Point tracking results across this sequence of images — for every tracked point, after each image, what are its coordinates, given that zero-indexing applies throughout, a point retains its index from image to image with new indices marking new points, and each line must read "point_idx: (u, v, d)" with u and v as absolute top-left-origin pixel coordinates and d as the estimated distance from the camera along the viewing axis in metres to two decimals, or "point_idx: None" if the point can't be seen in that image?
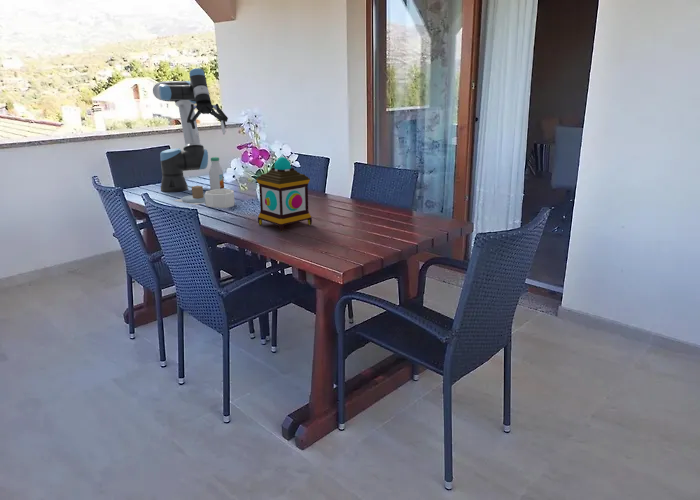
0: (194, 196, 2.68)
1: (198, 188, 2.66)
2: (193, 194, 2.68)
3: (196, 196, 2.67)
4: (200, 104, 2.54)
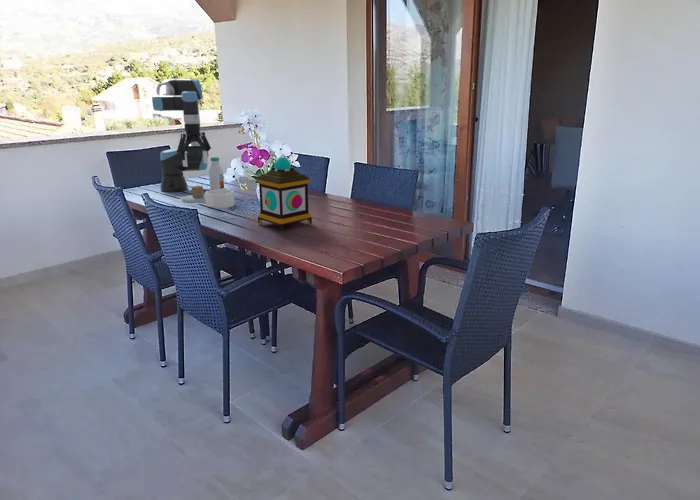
0: (194, 196, 2.68)
1: (198, 188, 2.66)
2: (193, 194, 2.68)
3: (196, 196, 2.67)
4: (191, 133, 2.57)
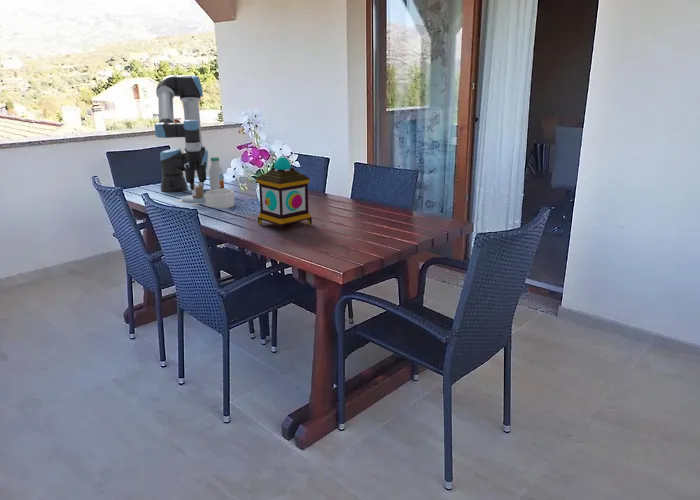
0: (194, 196, 2.68)
1: (198, 188, 2.66)
2: None
3: (196, 196, 2.67)
4: (192, 160, 2.60)
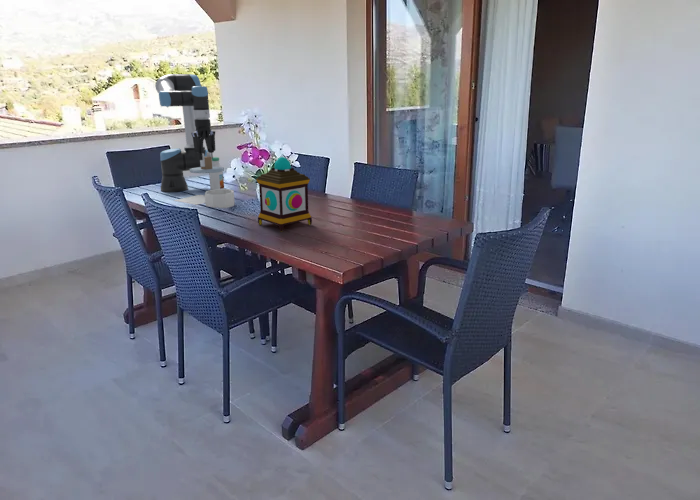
0: (203, 167, 2.56)
1: (207, 158, 2.55)
2: None
3: (205, 167, 2.56)
4: (200, 128, 2.49)
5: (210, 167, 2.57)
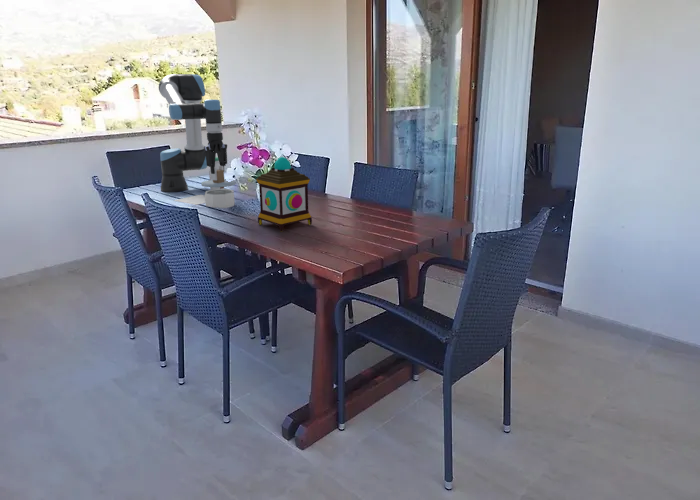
0: (214, 180, 2.54)
1: (219, 172, 2.52)
2: None
3: (217, 180, 2.53)
4: (212, 142, 2.47)
5: (222, 180, 2.55)
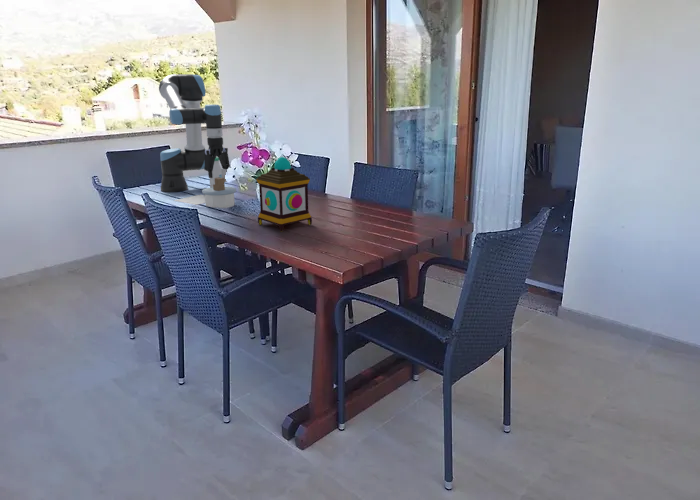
0: (215, 188, 2.55)
1: (219, 180, 2.54)
2: (214, 186, 2.56)
3: (217, 188, 2.55)
4: (213, 147, 2.48)
5: (223, 188, 2.56)
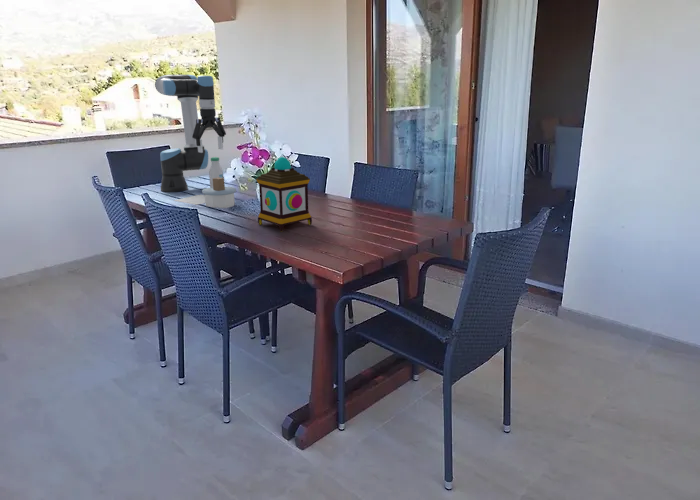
0: (215, 188, 2.55)
1: (219, 180, 2.54)
2: (214, 186, 2.56)
3: (217, 188, 2.55)
4: (206, 119, 2.52)
5: (223, 188, 2.56)
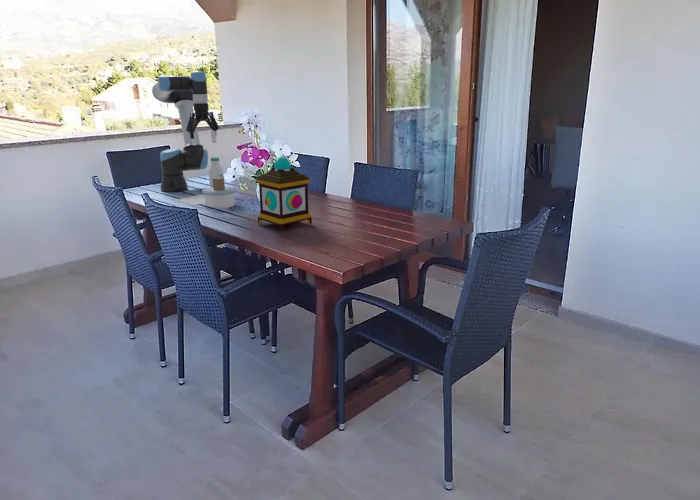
0: (215, 188, 2.55)
1: (219, 180, 2.54)
2: (214, 186, 2.56)
3: (217, 188, 2.55)
4: (199, 113, 2.63)
5: (223, 188, 2.56)
